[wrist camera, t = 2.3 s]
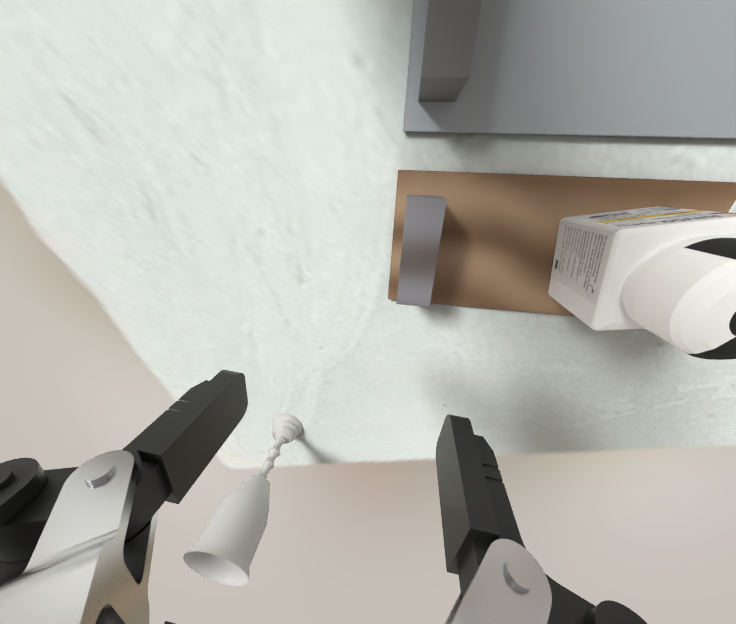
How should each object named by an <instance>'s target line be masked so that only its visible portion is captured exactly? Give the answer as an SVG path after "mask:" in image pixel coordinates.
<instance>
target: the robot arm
mask: <svg viewBox="0 0 736 624" xmlns="http://www.w3.org/2000/svg"><path fill="white" fill-rule="evenodd" d="M247 405H248V399H247V391H246V383H245V376H244V374H243V373H238V372H233V371H228V370H222V371H220V372H219V373H218V374H217V375H216V376H215V377H214V378H213V379H212V380H210V381H207V380H206V381H204V382H202V383H200V384H198V385H196V386H195V387H193V388H191V389H190V390H189V391H188V392H186V393H185V394H184V395H183V396H182V397H181V398H180V399H179V401H176V402H175V403H174V404H173V405H172V406H171V407H170V408H169V410H168V411H167V410H166V411H165V412H164V413H163V414H162V415H161V416H160V417H159V418H157V419H156V420H155V421H154V422H153V423H152V424H151V425H150V426H148V427H147V428H146V429H145V430H144V431H143V432H142V433H141V434H140V435H139V436H137V437H136V438H135V439H134V440H133V441H132V442H131V443H130V444H128V445H127V446H126V447H125V448H124V449H123V450H117V451H111V452H107V453H104V454H101V455H99V456H96V457H94V458H92V459H90V460H89V461H87V462H86V463H84V464H83V465H81V466H80V467H73V468H63V469H54V470H43V469H42V468H41V466H40V465H39V463H38V462H37V461H36V460H35V459H32V458H19V459H14V460H10V461H7V462H3V463H1V464H0V624H149V601H148V580H149V573H150V566H151V559H152V552H153V544H154V537H155V530H156V523H157V510H158V509H159V508H160V507H161V505H162V504H163V503H164V501H168V502H172V503H176V504H179V503H180V501H181V500H182V499H183V497H184V496H185V495H186V493H187V492H188V490H189V489H190V488H191V486H192V485H193V484H194V482H195V481H196V480H197V478H198V477H199V476H200V474H201V473H202V472H203V470H204V469H205V467H206V466H207V465H208V464H209V462H210V461H211V460H212V458H213V457H214V456H215V454H216V453H217V451H218V450H219V449H220V447H221V446H222V445H223V443H224V442H225V441H226V439H227V438H228V437H229V435H230V434H231V433H232V431H233V430H234V429H235V427H236V426H237V425H238V423H239V422H240V420H241V419H242V418H243V416H244V414H245V412H246V409H247ZM436 465H437V474H438V485H439V495H440V506H441V516H442V526H443V536H444V547H445V557H446V567H447V572H450V573H454V574H458V575H459V581H460V589H461V592H460V594H459V596H458V598H457V600H456V602H455V604H454V606H453V608H452V610H451V612H450V614H449V616H448V618H447V620H446V622H445V624H647V623H646V622H645V621H644V620H643V619H642V618H641V617H640V616H638V615H637V614H636V613H635V612H633V611H632V610H630V609H629V608H627V607H626V606H624V605H622V604H620V603H617V602H614V601H603V602H601V603H599V604H598V605H597V606H594V605H593V604H591V603H589V602H588V601H586V600H584V599H583V598H581V597H580V596H578V595H576V594H575V593H573V592H571V591H570V590H568V589H566V588H565V587H563V586H561V585H560V584H558V583H557V582H555V581H554V580H552V579H551V578H550V577H549V576H548V575H546V574H545V573H544V571H543V569H542V567H541V566H540V564H539V563H538V562H537V560H536V559H535V558H534V557H533V556H532V554H531V553H529V551H527V550H526V548H525V546H524V544H523V541H522V539H521V536H520V533H519V530H518V527H517V524H516V521H515V517H514V514H513V511H512V508H511V505H510V502H509V499H508V496H507V493H506V489H505V486H504V484H503V483H502V477H501V474H500V471H499V470H498V465H497V461H496V458H495V455H494V452H493V450H492V449H491V447H490V446H489V445H488V443H487V442H486V440H485V439H484V437H482V436H477V435H474V433H473V429H472V426H471V422H470V420H469V419H468V418H464V417H459V416H454V415H449V414H448V415H447V416H446V418H445V421H444V424H443V427H442V430H441V433H440V435H439V438H438V442H437V447H436ZM164 624H174V623H171V622H167V621H166V622H165V623H164Z"/></svg>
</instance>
